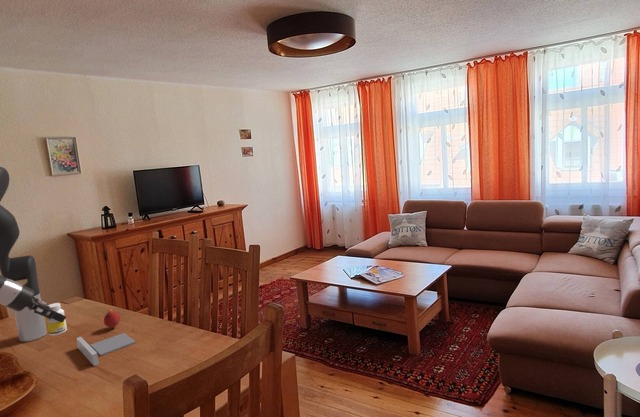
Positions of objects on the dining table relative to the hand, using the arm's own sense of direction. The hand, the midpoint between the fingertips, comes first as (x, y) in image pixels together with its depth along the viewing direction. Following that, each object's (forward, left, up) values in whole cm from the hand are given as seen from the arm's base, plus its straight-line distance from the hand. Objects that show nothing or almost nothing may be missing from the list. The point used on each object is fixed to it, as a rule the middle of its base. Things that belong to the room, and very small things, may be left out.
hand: (61, 317), depth 135 cm
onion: (-16, +19, -16) cm, 30 cm away
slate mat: (0, +14, -16) cm, 21 cm away
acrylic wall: (+2, +5, -16) cm, 17 cm away
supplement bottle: (0, -2, -5) cm, 5 cm away
